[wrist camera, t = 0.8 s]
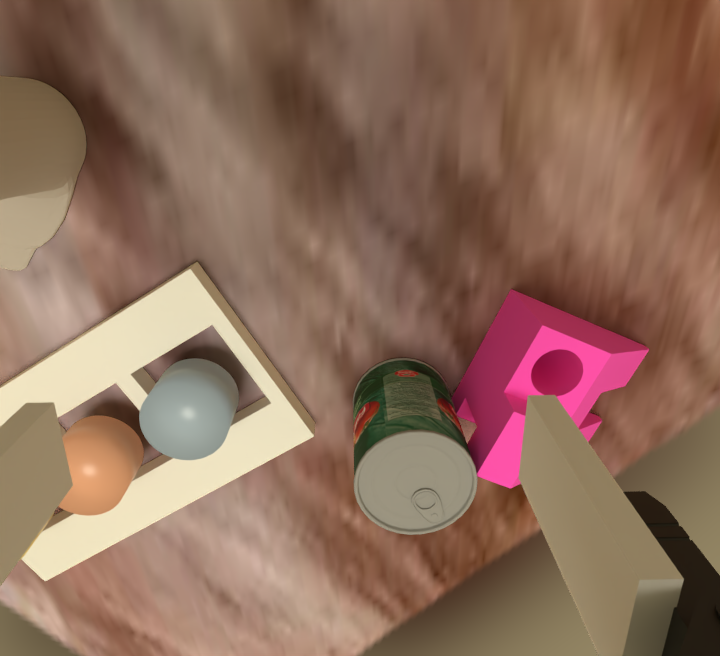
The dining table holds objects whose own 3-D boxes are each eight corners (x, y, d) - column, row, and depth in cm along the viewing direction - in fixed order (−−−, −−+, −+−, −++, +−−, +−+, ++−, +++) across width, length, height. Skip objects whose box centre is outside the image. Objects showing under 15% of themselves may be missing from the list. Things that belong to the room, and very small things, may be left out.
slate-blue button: (140, 383, 42) (120, 410, 39) (206, 344, 41) (192, 367, 38) (190, 442, 44) (175, 473, 41) (254, 406, 43) (245, 435, 39)
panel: (-79, 434, 47) (-96, 448, 45) (197, 261, 42) (190, 268, 40) (55, 564, 52) (45, 581, 50) (315, 423, 47) (314, 436, 45)
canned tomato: (335, 383, 46) (331, 463, 36) (424, 340, 45) (446, 411, 34) (380, 457, 49) (387, 552, 38) (465, 419, 47) (496, 506, 37)
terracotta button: (48, 438, 44) (20, 469, 40) (109, 402, 43) (86, 430, 39) (100, 493, 46) (77, 528, 42) (159, 460, 45) (142, 492, 41)
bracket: (450, 399, 47) (475, 475, 37) (510, 288, 43) (556, 340, 34) (576, 448, 49) (632, 532, 39) (644, 345, 45) (722, 409, 36)
